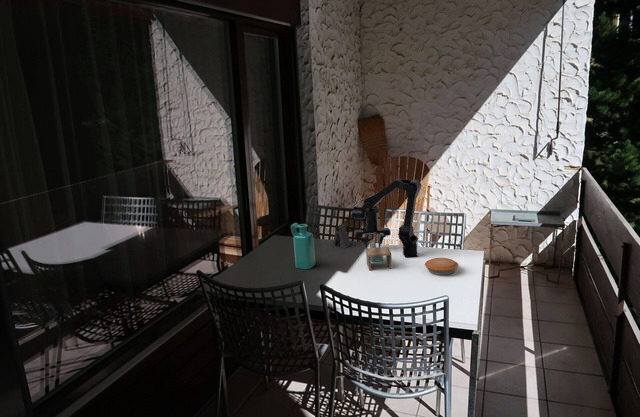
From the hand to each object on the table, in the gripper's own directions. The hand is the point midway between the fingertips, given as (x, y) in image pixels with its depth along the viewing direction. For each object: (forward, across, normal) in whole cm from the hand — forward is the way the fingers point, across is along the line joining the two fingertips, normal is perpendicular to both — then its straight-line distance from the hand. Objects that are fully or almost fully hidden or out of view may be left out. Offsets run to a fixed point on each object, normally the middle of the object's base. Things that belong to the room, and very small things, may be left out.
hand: (373, 247), depth 277 cm
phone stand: (+2, +16, -14) cm, 21 cm away
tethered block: (+2, 0, +7) cm, 7 cm away
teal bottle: (+2, +37, +14) cm, 40 cm away
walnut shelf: (+2, 0, +22) cm, 23 cm away
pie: (+2, -28, +35) cm, 44 cm away
